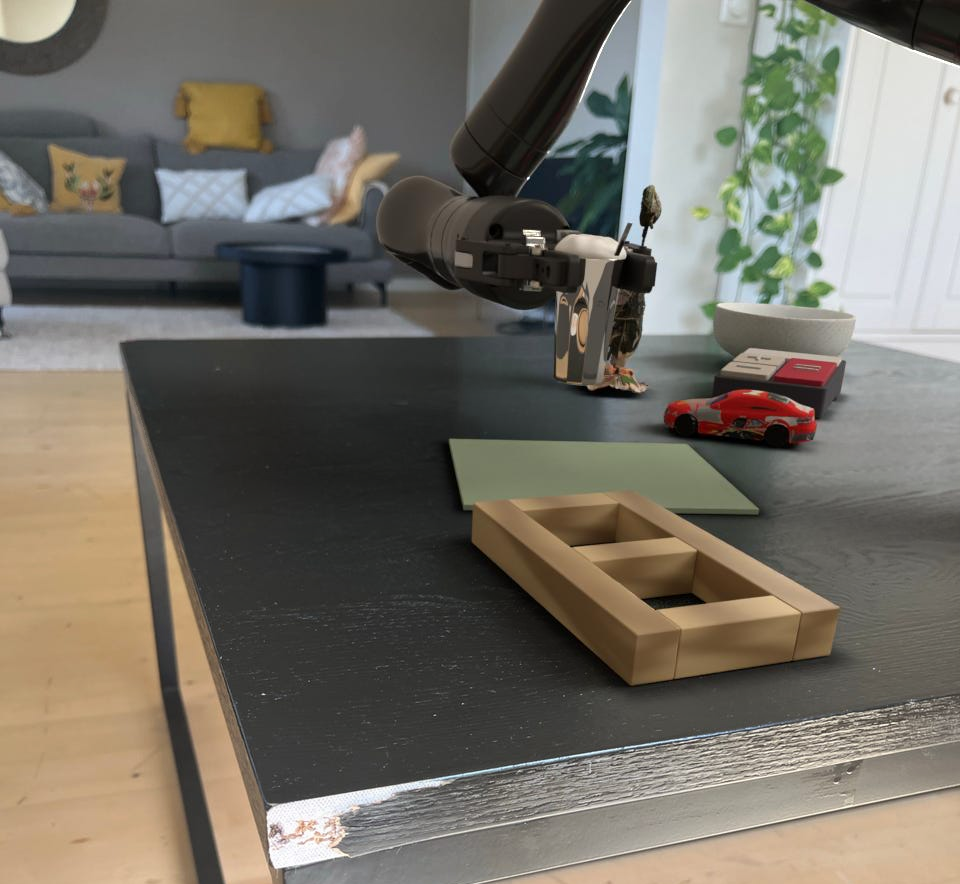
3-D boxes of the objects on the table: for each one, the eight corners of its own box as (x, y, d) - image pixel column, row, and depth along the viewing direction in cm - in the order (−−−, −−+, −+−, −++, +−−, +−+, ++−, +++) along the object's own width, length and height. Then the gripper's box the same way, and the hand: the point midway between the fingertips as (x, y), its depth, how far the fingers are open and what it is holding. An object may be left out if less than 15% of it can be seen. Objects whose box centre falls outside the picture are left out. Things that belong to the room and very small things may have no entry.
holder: (629, 527, 63) (633, 489, 62) (830, 655, 47) (840, 607, 46) (471, 542, 59) (472, 502, 58) (630, 686, 43) (636, 634, 42)
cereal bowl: (857, 385, 114) (869, 321, 111) (711, 375, 116) (719, 312, 113) (832, 362, 129) (843, 305, 126) (704, 353, 131) (711, 298, 128)
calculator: (714, 368, 98) (746, 342, 110) (709, 410, 100) (740, 381, 112) (828, 380, 94) (848, 352, 106) (820, 425, 96) (840, 392, 108)
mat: (686, 448, 83) (687, 443, 83) (758, 514, 67) (759, 509, 66) (448, 443, 81) (448, 438, 81) (463, 510, 65) (463, 504, 65)
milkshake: (586, 392, 62) (604, 222, 58) (530, 377, 66) (542, 215, 62) (635, 386, 65) (655, 223, 61) (578, 372, 69) (593, 216, 64)
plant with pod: (654, 382, 110) (676, 186, 102) (644, 401, 100) (669, 185, 92) (582, 376, 112) (598, 182, 104) (566, 394, 102) (582, 181, 94)
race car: (655, 434, 87) (661, 388, 86) (668, 422, 92) (673, 379, 90) (810, 452, 83) (818, 404, 81) (815, 439, 88) (823, 394, 86)
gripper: (415, 192, 70) (508, 204, 56) (594, 199, 75) (720, 212, 61) (414, 302, 74) (501, 340, 59) (585, 302, 79) (703, 337, 64)
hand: (611, 275), depth 60 cm, fingers closed on milkshake, 4 cm apart
